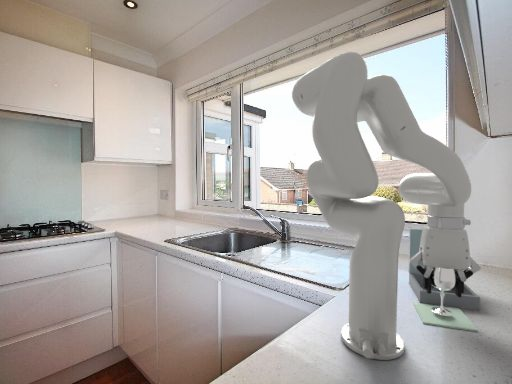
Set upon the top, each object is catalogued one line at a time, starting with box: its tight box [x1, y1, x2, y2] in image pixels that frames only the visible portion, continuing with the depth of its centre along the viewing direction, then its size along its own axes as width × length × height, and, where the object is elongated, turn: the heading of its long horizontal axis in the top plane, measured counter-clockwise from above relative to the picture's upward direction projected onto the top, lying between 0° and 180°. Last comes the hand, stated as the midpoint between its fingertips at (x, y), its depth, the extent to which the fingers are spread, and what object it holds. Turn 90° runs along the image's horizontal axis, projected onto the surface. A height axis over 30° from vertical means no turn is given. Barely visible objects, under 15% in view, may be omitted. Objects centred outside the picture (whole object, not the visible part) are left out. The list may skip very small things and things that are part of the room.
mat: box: [412, 302, 478, 333], centre depth 70 cm, size 11×11×1 cm
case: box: [408, 227, 481, 311], centre depth 82 cm, size 16×14×18 cm
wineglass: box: [430, 268, 457, 316], centre depth 69 cm, size 6×6×12 cm
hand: (442, 292), depth 69 cm, fingers closed on wineglass, 5 cm apart
